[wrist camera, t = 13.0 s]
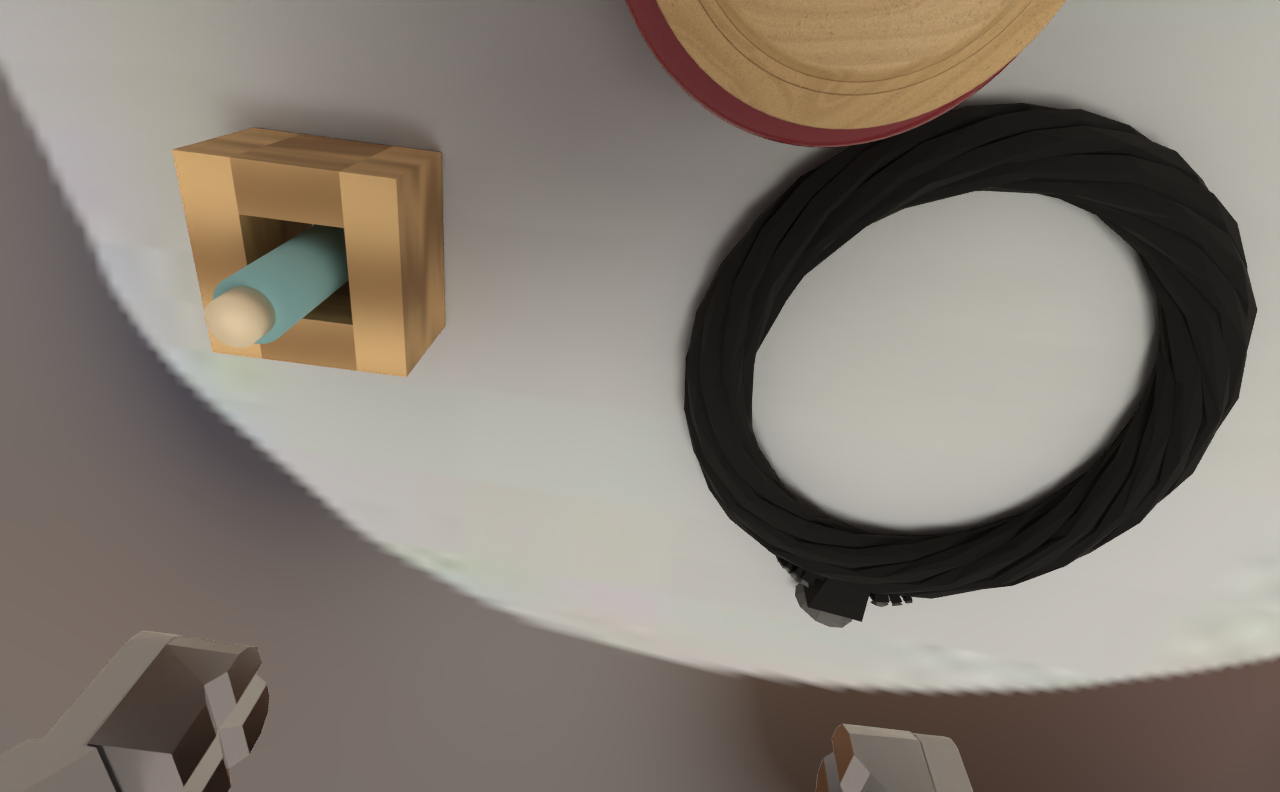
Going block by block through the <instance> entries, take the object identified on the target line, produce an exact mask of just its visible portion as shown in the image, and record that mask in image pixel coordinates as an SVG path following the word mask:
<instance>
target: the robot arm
mask: <svg viewBox="0 0 1280 792" xmlns="http://www.w3.org/2000/svg"><path fill="white" fill-rule="evenodd" d="M261 664H262V661H261V657H260V654H259V651H258V648H257V647H252V646H246V645H239V644H233V643H226V642H219V641H213V640H206V639H199V638H192V637H186V636H182V635H174V634H167V633H160V632H152V631H144V630H143V631H141V632H140V633H138V634H136V635H135V636H133V637H132V638H130V639H129V640H127V641H126V643H125V644H124V645H123V646H122V647H121V648H120V650H119V651H118V652H117V653H116V654H115V655H114V656H113V658H112V659H111V660H110V661H109V662H108V663H107V665H106V666H105V667H104V668H103V669H102V670H101V672H100V673H99V674H98V675H97V676H96V677H95V678H94V680H93V681H92V682H91V683H90V684H89V685H88V686H87V688H86V689H85V690H84V691H83V692H82V693H81V695H80V696H79V697H78V698H77V699H76V700H75V701H74V703H73V704H72V705H71V706H70V707H69V708H68V710H67V711H66V712H65V713H64V714H63V715H62V716H61V718H60V719H59V720H58V721H57V722H56V723H55V725H54V726H53V727H52V728H51V729H50V730H49V732H48V733H47V734H46V735H45V736H44V737H43V738H42V739H31V738H29V739H28V740H26V741H24V742H22V743H21V744H19V745H17V746H15V747H13V748H12V749H10V750H8V751H6V752H5V753H3V754H1V755H0V792H228V791H229V789H230V788H231V783H230V774H229V768H231V767H232V766H233V765H235V764H236V763H238V762H239V761H241V760H242V759H244V758H245V757H246V756H248V755H249V754H250V753H251V751H252V749H253V747H254V745H255V743H256V741H257V740H258V738H259V736H260V734H261V732H262V729H263V726H264V723H265V720H266V717H267V714H268V708H269V692H268V687H267V684H266V683H265V682H264V681H263V680H262V679H261V678H260V677H259V676H258V675H256V672H257V670H258V669H259V667H260V666H261ZM832 743H833V749H834V752H833V753H831V754H829V755H828V756H826V757H824V758H823V760H822V763H821V766H820V769H819V771H818V777H817V785H816V792H973V790H972V787H971V784H970V782H969V779H968V776H967V773H966V771H965V768H964V765H963V762H962V759H961V757H960V754H959V751H958V748H957V746H956V745H955V744H954V742H953V741H952V740H951V739H950V738H947V737H941V736H932V735H924V734H914V733H910V732H909V731H900V730H892V729H883V728H874V727H866V726H858V725H849V724H841V725H840V726H838V727H837V728H836V730H835V732H834V735H833V737H832Z"/></svg>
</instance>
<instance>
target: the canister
mask: <svg viewBox="0 0 1280 792" xmlns="http://www.w3.org/2000/svg"><path fill="white" fill-rule="evenodd" d="M625 1H626V4H627V6H628V8H629V11H630V13H631V15H632V17H633V19H634V22H635V24H636V26H637V27H638V29H639V31H640V33H641V35H642V37H643V38H644V40H645V42H646V44H647V45H648V47H649V48H650V50H651V51H652V53H653V54H654V56H655V57H656V59H657V60H658V61H659V63H660V64H661V65H662V67H663V68H664V69H665V70H666V72H667V73H668V74H669V75H670V76H671V77H672V78H673V80H674V81H675V82H676V83H677V84H678V85H679V86H680V87H681V88H682V89H683V90H684V91H685V92H686V93H687V94H688V95H689V96H690V97H692V98H693V99H694V100H695V101H696V102H698V103H699V104H700V105H701V106H703V107H704V108H705V109H707V110H708V111H710V112H711V113H713V114H714V115H716V116H717V117H719V118H720V119H722V120H724V121H726V122H727V123H729V124H731V125H733V126H735V127H737V128H739V129H741V130H743V131H746V132H748V133H750V134H753V135H756V136H759V137H762V138H764V139H768V140H772V141H776V142H780V143H785V144H791V145H796V146H807V147H842V146H852V145H858V144H865V143H869V142H874V141H878V140H882V139H886V138H889V137H892V136H895V135H898V134H901V133H904V132H906V131H909V130H911V129H914V128H916V127H919V126H921V125H923V124H925V123H927V122H929V121H931V120H933V119H935V118H937V117H939V116H940V115H942V114H944V113H946V112H947V111H949V110H951V109H953V108H954V107H956V106H957V105H959V104H960V103H962V102H963V101H965V100H966V99H968V98H969V97H970V96H972V95H973V94H974V93H976V92H977V91H978V90H980V89H981V88H982V87H984V86H985V85H986V84H987V83H988V82H990V81H991V80H992V79H993V78H994V77H995V76H996V75H998V74H999V73H1000V72H1001V71H1002V70H1003V69H1004V68H1005V67H1006V66H1007V65H1008V64H1009V63H1010V62H1011V61H1012V60H1013V59H1014V58H1015V57H1016V56H1017V55H1018V54H1019V53H1020V52H1021V51H1022V50H1023V49H1024V48H1025V47H1026V46H1027V45H1028V44H1029V43H1030V42H1031V41H1032V40H1033V39H1034V38H1035V37H1036V36H1037V35H1038V34H1039V33H1040V32H1041V30H1042V29H1043V28H1044V27H1045V26H1046V25H1047V24H1048V23H1049V22H1050V20H1051V19H1052V18H1053V17H1054V15H1055V14H1056V13H1057V11H1058V10H1059V9H1060V8H1061V6H1062V5H1063V4H1064V2H1065V1H1066V0H625Z"/></svg>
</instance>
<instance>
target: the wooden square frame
mask: <svg viewBox="0 0 1280 792" xmlns="http://www.w3.org/2000/svg"><path fill="white" fill-rule="evenodd" d="M172 152H173V157H174V162H175V167H176V172H177V177H178V182H179V187H180V192H181V197H182V202H183V207H184V212H185V217H186V222H187V227H188V232H189V237H190V242H191V247H192V252H193V257H194V262H195V267H196V272H197V277H198V282H199V287H200V292H201V297H202V302H203V307H204V312H205V309H206V307H207V305H208V304H209V303H210V302H211V301H212V300H213V293H214V290H215V288H216V286H217V285H218V284H219V283H220V282H221V281H222V280H224V279H226V278H227V277H229V276H231V275H232V274H234V273H236V272H237V271H239V270H241V269H242V268H244V267H246V266H247V265H249V264H251V263H252V262H254V261H256V260H257V259H259V258H261V257H262V256H264V255H266V254H267V253H269V252H271V251H272V250H274V249H276V248H277V247H279V246H281V245H282V244H284V243H286V242H287V241H289V240H291V239H292V238H294V237H296V236H297V235H299V234H301V233H302V232H304V231H306V230H307V229H309V228H311V227H312V225H311V224H316V225H324V226H332V227H340V228H344V233H345V244H346V255H347V266H348V277H349V280H348V281H347V282H346V283H345V284H343V285H342V286H341V287H340V288H338V289H337V290H336V291H335V292H334V293H332V294H331V295H330V296H329V297H328V298H326V299H325V300H324V301H323V302H321V303H320V304H319V305H318V306H317V307H315V308H314V309H313V310H312V311H311V312H309V313H308V314H307V315H306V316H305V317H303V318H302V319H301V320H300V321H298V322H297V323H296V324H295V325H294V326H292V327H291V328H290V329H289V330H288V331H286V332H285V333H284V334H283V335H281V336H280V337H279V338H278V339H276V340H275V341H273V342H270V343H266V344H252V345H251V346H248V347H245V348H235V347H231V346H228V345H226V344H224V343H222V342H221V341H219V340H218V339H217V338H215V337H214V336H213V334H212V333H211V332H210V331H209V329H208V332H209V336H210V341H211V346H212V351H213V352H216V353H224V354H231V355H239V356H247V357H255V358H263V359H270V360H278V361H286V362H294V363H301V364H309V365H317V366H325V367H333V368H340V369H348V370H356V371H364V372H372V373H379V374H387V375H395V376H403V377H407V376H408V374H409V373H410V372H411V370H412V369H413V368H414V366H415V365H416V364H417V363H418V361H419V360H420V359H421V357H422V356H423V355H424V353H425V352H426V351H427V349H428V348H429V347H430V345H431V344H432V343H433V341H434V340H435V339H436V337H437V336H438V335H439V334H440V332H441V331H442V330H443V328H444V327H445V289H444V243H443V196H442V152H435V151H427V150H419V149H412V148H404V147H396V146H389V145H381V144H373V143H366V142H358V141H350V140H343V139H335V138H328V137H320V136H312V135H305V134H297V133H289V132H282V131H274V130H266V129H259V128H250V129H246V130H243V131H239V132H235V133H232V134H228V135H224V136H221V137H217V138H213V139H210V140H206V141H202V142H199V143H195V144H191V145H188V146H184V147H180V148H177V149H173V150H172Z"/></svg>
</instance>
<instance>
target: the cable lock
mask: <svg viewBox="0 0 1280 792" xmlns="http://www.w3.org/2000/svg"><path fill="white" fill-rule="evenodd" d="M973 191H1000V192H1019V193H1037V194H1042V195H1046V196H1050V197H1055V198H1059V199H1061V200H1064V201H1066V202H1068V203H1070V204H1073V205H1075V206H1077V207H1080V208H1082V209H1084V210H1086V211H1089V212H1091V213H1093V214H1096V215H1097V216H1098V217H1099V218H1100V219H1101V220H1103V221H1104V222H1105V223H1106V224H1107V225H1108V226H1109V227H1110V228H1112V229H1113V230H1114V231H1115V232H1116V233H1117V234H1118V235H1119V236H1121V237H1122V238H1123V239H1124V240H1125V241H1126V242H1127V243H1128V244H1130V245H1131V246H1132V247H1133V248H1134V249H1135V250H1136V251H1137V252H1138V253H1139V255H1140V257H1141V260H1142V262H1143V264H1144V267H1145V269H1146V271H1147V273H1148V276H1149V278H1150V280H1151V283H1152V285H1153V287H1154V289H1155V292H1156V294H1157V296H1158V306H1159V325H1160V339H1159V351H1158V358H1157V361H1156V364H1155V367H1154V370H1153V373H1152V376H1151V379H1150V381H1149V384H1148V387H1147V390H1146V393H1145V395H1144V397H1143V400H1142V402H1141V404H1140V406H1139V408H1138V410H1137V412H1136V413H1135V415H1134V416H1133V418H1132V419H1131V420H1130V422H1129V423H1128V424H1127V426H1126V427H1125V428H1124V430H1123V431H1122V433H1121V434H1120V435H1119V437H1118V438H1117V439H1116V441H1115V442H1114V443H1113V445H1112V446H1111V447H1110V448H1109V449H1108V451H1107V452H1106V453H1105V454H1104V455H1103V456H1102V457H1101V458H1100V459H1099V461H1098V462H1097V463H1096V464H1095V465H1094V466H1093V467H1092V468H1091V469H1090V470H1089V471H1088V472H1087V473H1086V474H1084V475H1082V476H1081V477H1079V478H1078V479H1076V480H1075V481H1073V482H1072V483H1071V484H1069V485H1068V486H1066V487H1065V488H1063V489H1062V490H1060V491H1059V492H1057V493H1056V494H1054V495H1053V496H1051V497H1050V498H1048V499H1047V500H1045V501H1044V502H1042V503H1041V504H1040V505H1038V506H1037V507H1035V508H1034V509H1032V510H1030V511H1028V512H1027V513H1023V514H1020V515H1016V516H1013V517H1010V518H1007V519H1004V520H1001V521H998V522H995V523H992V524H989V525H986V526H983V527H980V528H977V529H974V530H970V531H966V532H961V533H957V534H942V535H924V536H894V535H876V534H871V533H867V532H864V531H861V530H859V529H856V528H854V527H851V526H848V525H846V524H843V523H840V522H838V521H835V520H832V519H830V518H828V517H826V516H824V515H822V514H821V513H819V512H817V511H815V510H813V509H812V508H810V507H808V506H806V505H804V504H802V503H801V502H799V501H798V500H797V499H796V498H795V497H794V496H793V495H792V494H791V493H790V492H789V491H788V490H787V489H786V488H785V487H784V485H783V484H782V482H781V481H780V479H779V478H778V476H777V475H776V473H775V472H774V470H773V469H772V467H771V466H770V464H769V463H768V461H767V460H766V458H765V457H764V455H763V454H762V452H761V451H760V449H759V447H758V444H757V441H756V438H755V435H754V433H753V429H752V391H753V372H754V363H755V357H756V352H757V350H758V349H759V347H760V345H761V344H762V342H763V340H764V338H765V337H766V335H767V333H768V332H769V330H770V328H771V326H772V325H773V323H774V321H775V319H776V318H777V316H778V314H779V313H780V311H781V309H782V307H783V306H784V304H785V302H786V300H787V299H788V297H789V296H790V295H791V293H792V292H793V290H794V289H795V288H796V286H797V285H798V284H799V282H800V281H801V280H802V278H803V277H804V275H806V274H807V273H808V272H810V271H811V270H812V269H813V268H815V267H816V266H817V265H818V264H820V263H821V262H822V261H823V260H825V259H826V258H827V257H828V256H830V255H831V254H832V253H833V252H835V251H836V250H837V249H838V248H840V247H841V246H842V245H844V244H845V243H846V242H847V241H849V240H850V239H851V238H852V237H854V236H855V235H856V234H857V233H859V232H860V231H861V230H862V229H864V228H865V227H866V226H868V225H870V224H872V223H874V222H876V221H878V220H880V219H883V218H885V217H887V216H889V215H891V214H893V213H895V212H898V211H900V210H902V209H904V208H908V207H912V206H916V205H920V204H924V203H929V202H933V201H937V200H941V199H945V198H949V197H953V196H957V195H961V194H965V193H969V192H973ZM1256 313H1257V307H1256V303H1255V299H1254V295H1253V291H1252V287H1251V283H1250V279H1249V275H1248V271H1247V263H1246V259H1245V255H1244V250H1243V246H1242V242H1241V237H1240V233H1239V229H1238V224H1237V222H1236V221H1235V220H1234V218H1233V217H1232V216H1231V215H1230V214H1229V212H1228V211H1227V210H1226V209H1225V207H1224V206H1223V205H1222V204H1221V202H1220V201H1219V200H1218V199H1217V197H1216V196H1215V195H1214V194H1213V193H1211V192H1210V191H1209V190H1208V188H1207V187H1206V185H1205V183H1204V181H1203V180H1202V179H1201V178H1200V176H1199V175H1198V174H1197V173H1196V172H1195V171H1194V170H1193V169H1192V168H1191V167H1190V166H1189V165H1188V163H1187V162H1186V161H1185V160H1184V159H1183V158H1182V157H1181V156H1180V155H1179V154H1178V153H1177V152H1176V151H1174V150H1171V149H1169V148H1167V147H1164V146H1162V145H1159V144H1157V143H1154V142H1152V141H1151V140H1149V139H1148V138H1146V137H1145V136H1144V135H1142V134H1141V133H1139V132H1138V131H1137V130H1135V129H1134V128H1132V127H1131V126H1130V125H1127V124H1124V123H1121V122H1118V121H1115V120H1111V119H1108V118H1105V117H1102V116H1099V115H1096V114H1093V113H1090V112H1087V111H1084V110H1081V109H1064V110H1062V109H1055V108H1049V107H1043V106H1037V105H1030V104H1024V103H1018V104H1001V105H984V106H967V107H964V108H961V109H958V110H955V111H953V112H948V113H944V114H942V115H940V116H939V117H937V118H935V119H933V120H931V121H929V122H927V123H925V124H923V125H921V126H919V127H916V128H914V129H911V130H909V131H906V132H904V133H901V134H898V135H895V136H892V137H889V138H886V139H882V140H878V141H874V142H869V143H865V144H858V145H852V146H849V147H848V148H847V149H845V150H844V151H843V152H841V153H840V154H839V155H837V156H836V157H834V158H832V159H830V160H829V161H827V162H825V163H823V164H822V165H820V166H818V167H816V168H815V169H813V170H811V171H809V172H808V173H806V174H804V175H802V176H801V177H800V178H799V179H798V180H797V181H796V182H795V183H794V184H793V185H792V186H791V187H789V188H788V189H787V190H786V191H785V192H784V193H783V194H782V195H781V196H780V197H779V198H778V199H777V200H776V201H775V202H774V203H773V204H772V205H771V206H770V207H769V208H768V209H767V210H766V211H765V212H763V213H762V214H761V215H760V216H759V217H758V218H757V219H756V221H755V222H754V224H753V225H752V227H751V228H750V230H749V231H748V232H747V233H746V234H745V236H744V237H743V238H742V239H741V240H740V242H739V243H738V244H737V245H736V247H735V248H734V249H733V250H732V251H731V253H730V254H729V255H728V256H727V257H726V259H725V260H724V261H723V263H722V264H721V266H720V268H719V270H718V272H717V274H716V276H715V278H714V280H713V282H712V283H711V285H710V287H709V289H708V291H707V293H706V295H705V297H704V299H703V301H702V303H701V304H700V306H699V308H698V310H697V312H696V317H695V322H694V327H693V332H692V338H691V343H690V347H689V350H688V353H687V356H686V371H685V401H684V410H685V415H686V419H687V424H688V428H689V433H690V437H691V442H692V446H693V451H694V453H695V455H696V457H697V459H698V461H699V464H700V466H701V469H702V472H703V474H704V477H705V480H706V482H707V485H708V488H709V490H710V491H711V493H712V494H713V496H714V497H715V498H716V500H717V501H718V503H719V504H720V506H721V507H722V509H723V510H724V511H725V513H726V514H727V516H728V517H729V519H731V520H732V521H733V522H734V523H735V524H737V525H738V526H739V527H740V528H742V529H743V530H744V531H745V532H747V533H748V534H749V535H750V536H752V537H753V538H754V539H755V540H756V541H758V542H759V543H760V544H761V545H763V546H764V547H765V548H767V550H768V551H770V552H771V553H773V554H774V555H775V556H776V558H777V560H778V562H779V563H780V565H781V566H782V567H783V568H784V569H785V570H787V571H788V573H789V574H790V575H791V576H792V577H793V578H794V579H795V580H797V581H798V582H799V583H800V584H798V585H797V586H796V591H795V596H796V598H797V601H798V603H799V605H800V607H801V608H802V609H803V610H804V611H805V612H806V613H808V614H809V615H810V616H811V617H812V618H813V619H814V620H815V621H817V622H820V623H822V624H824V625H827V626H829V627H840V628H842V627H844V626H845V625H847V624H848V623H850V622H851V621H852V619H854V620H857V621H861V622H862V619H863V615H864V612H865V608H866V605H867V601H868V597H869V596H870V597H871V599H872V600H873V601H872V602H871V603H872V604H874V605H876V606H879V607H883V606H886V605H888V603H889V601H891V602H892V606H897V605H903V604H902V603H900V602H902V600H901V598H900V596H901V597H903V600H904V601H905V603H912V601H913V600H912V598H911V597H920V598H931V599H932V598H938V597H943V596H949V595H954V594H960V593H965V592H970V591H976V590H981V589H988V588H997V587H1005V586H1013V585H1016V584H1019V583H1021V582H1024V581H1027V580H1029V579H1032V578H1035V577H1037V576H1040V575H1043V574H1045V573H1048V572H1051V571H1053V570H1056V569H1059V568H1061V567H1064V566H1066V565H1068V564H1069V563H1071V562H1073V561H1074V560H1076V559H1077V558H1079V557H1082V556H1084V555H1086V554H1089V553H1091V552H1092V551H1094V550H1096V549H1097V548H1099V547H1100V546H1102V545H1104V544H1105V543H1107V542H1109V541H1110V540H1112V539H1114V538H1115V537H1117V536H1119V535H1120V534H1122V533H1124V532H1125V531H1127V530H1129V529H1130V528H1132V527H1134V526H1135V525H1137V524H1139V523H1140V522H1141V521H1142V520H1143V519H1144V518H1145V517H1146V515H1147V514H1148V513H1149V512H1150V511H1151V510H1152V509H1153V508H1154V507H1155V505H1156V504H1157V503H1159V502H1160V501H1161V500H1162V499H1164V498H1165V497H1166V496H1167V495H1168V494H1170V493H1171V492H1172V491H1173V490H1174V489H1175V488H1177V487H1178V486H1179V485H1180V484H1181V483H1182V482H1183V481H1185V480H1186V479H1187V478H1188V477H1189V476H1190V475H1192V474H1193V472H1194V471H1195V469H1196V467H1197V465H1198V464H1199V462H1200V460H1201V458H1202V456H1203V455H1204V453H1205V451H1206V449H1207V448H1208V446H1209V444H1210V442H1211V440H1212V439H1213V437H1214V435H1215V433H1216V431H1217V430H1218V428H1219V427H1220V425H1221V424H1222V422H1223V421H1224V419H1225V418H1226V416H1227V415H1228V413H1229V412H1230V410H1231V409H1232V407H1233V406H1234V404H1235V403H1236V401H1237V400H1238V398H1239V393H1240V388H1241V383H1242V377H1243V372H1244V367H1245V361H1246V356H1247V349H1248V345H1249V341H1250V337H1251V333H1252V329H1253V325H1254V321H1255V317H1256ZM888 595H889V597H888ZM889 598H890V600H889ZM887 602H888V603H887Z"/></svg>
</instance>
